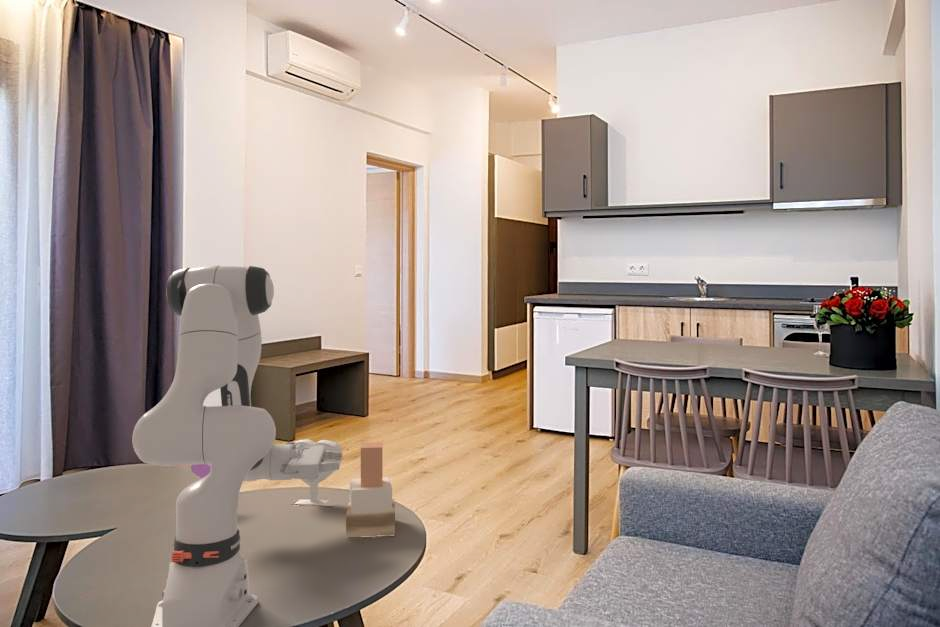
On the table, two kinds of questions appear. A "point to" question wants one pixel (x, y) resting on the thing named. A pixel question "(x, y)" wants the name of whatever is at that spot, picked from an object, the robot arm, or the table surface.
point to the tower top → (370, 497)
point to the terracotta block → (371, 464)
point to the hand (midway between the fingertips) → (340, 460)
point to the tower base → (370, 523)
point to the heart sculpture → (323, 475)
